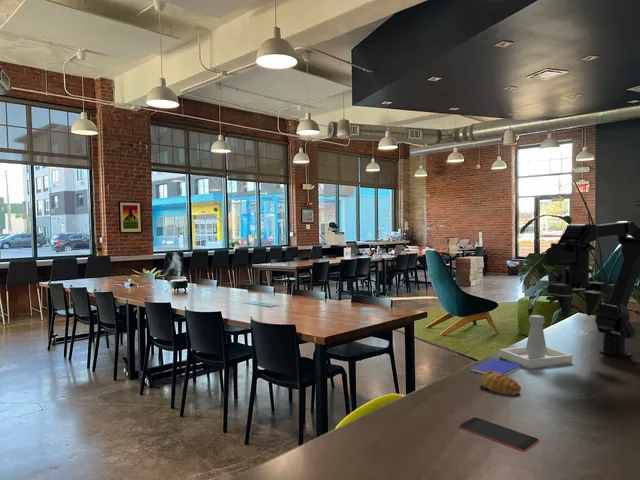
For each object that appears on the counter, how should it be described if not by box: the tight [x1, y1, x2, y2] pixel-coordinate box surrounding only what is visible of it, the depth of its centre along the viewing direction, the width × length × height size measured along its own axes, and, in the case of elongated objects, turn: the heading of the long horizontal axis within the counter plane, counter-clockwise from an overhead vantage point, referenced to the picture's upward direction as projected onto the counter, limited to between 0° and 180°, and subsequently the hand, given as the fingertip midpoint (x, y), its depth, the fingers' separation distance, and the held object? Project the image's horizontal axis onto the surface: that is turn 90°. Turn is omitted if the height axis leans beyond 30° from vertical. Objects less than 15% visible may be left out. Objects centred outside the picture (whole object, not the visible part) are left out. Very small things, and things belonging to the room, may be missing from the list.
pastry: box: [480, 371, 522, 396], centre depth 115 cm, size 9×7×4 cm
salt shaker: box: [525, 314, 547, 359], centre depth 139 cm, size 6×6×13 cm
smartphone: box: [457, 417, 540, 452], centre depth 91 cm, size 7×1×14 cm
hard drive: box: [470, 358, 521, 376], centre depth 130 cm, size 2×8×12 cm
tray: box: [499, 346, 573, 370], centre depth 139 cm, size 16×12×2 cm
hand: (577, 316), depth 140 cm, fingers open, 9 cm apart
